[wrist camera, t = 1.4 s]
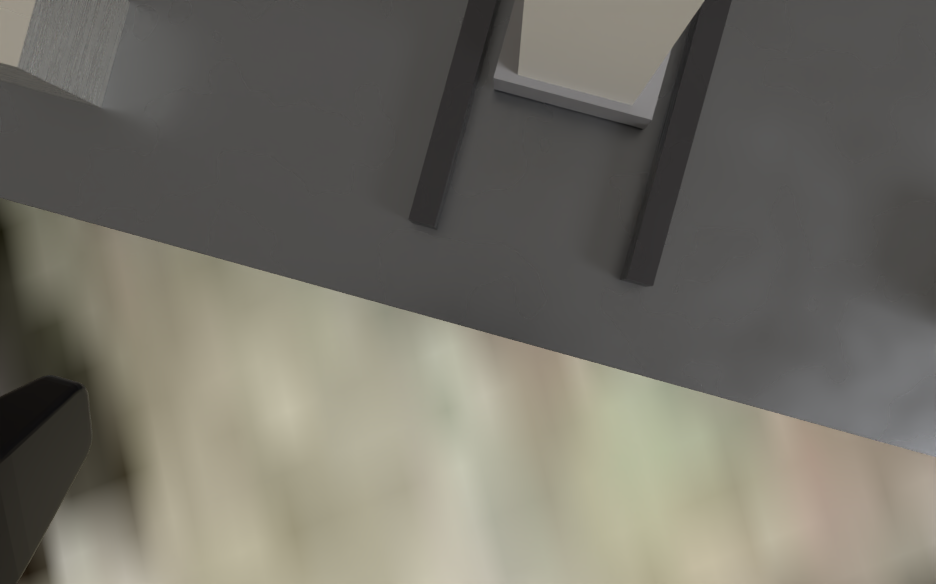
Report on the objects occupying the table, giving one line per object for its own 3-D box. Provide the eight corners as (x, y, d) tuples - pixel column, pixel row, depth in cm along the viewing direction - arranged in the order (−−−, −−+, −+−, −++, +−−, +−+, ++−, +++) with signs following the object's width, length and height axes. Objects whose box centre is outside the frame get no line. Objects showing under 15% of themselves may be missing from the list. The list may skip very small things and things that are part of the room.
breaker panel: (1078, 493, 21) (1262, 555, 16) (-40, 184, 22) (-201, 149, 17) (1230, -60, 21) (1463, -174, 16) (104, -342, 22) (-13, -534, 17)
